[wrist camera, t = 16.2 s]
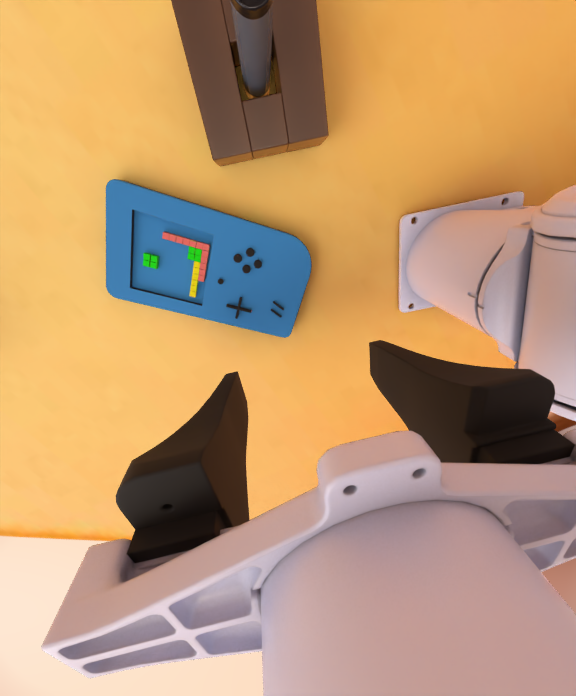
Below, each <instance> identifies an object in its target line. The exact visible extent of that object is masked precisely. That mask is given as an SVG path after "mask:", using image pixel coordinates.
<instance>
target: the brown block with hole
mask: <svg viewBox="0 0 576 696" xmlns="http://www.w3.org/2000/svg"><path fill="white" fill-rule="evenodd" d="M171 1H172V5H173V9H174V13H175V17H176V20H177V24H178V28H179V32H180V36H181V40H182V43H183V47H184V51H185V55H186V59H187V62H188V66H189V70H190V74H191V78H192V82H193V85H194V89H195V93H196V97H197V101H198V104H199V108H200V112H201V116H202V120H203V123H204V127H205V131H206V135H207V139H208V143H209V146H210V150H211V154H212V158H213V160H214V161H215V162H216V163H217V164H218V165H219V166H224V165H228V164H233V163H238V162H242V161H247V160H252V159H253V158H254V159H256V158H261V157H265V156H270V155H275V154H280V153H284V152H289V151H294V150H299V149H303V148H308V147H313V146H318V145H320V144H321V143H322V142H323V141H324V140H325V139H326V137H327V136H328V126H327V115H326V104H325V92H324V81H323V70H322V59H321V48H320V37H319V26H318V15H317V4H316V0H274V6H273V28H272V50H271V56H272V62H273V69H274V76H275V82H276V89H277V93H276V94H271V95H267V96H262V97H257V98H253V99H248V100H244V101H242V100H241V95H240V90H239V86H238V81H237V76H236V71H235V66H237V65H240V59H239V53H238V47H237V41H236V35H235V28H234V22H233V16H232V10H231V4H230V0H171ZM234 65H235V66H234Z"/></svg>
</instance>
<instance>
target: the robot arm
mask: <svg viewBox="0 0 576 696" xmlns="http://www.w3.org/2000/svg"><path fill="white" fill-rule="evenodd" d="M503 199H504V203H503V204H502V200H503ZM523 201H524V193H523V192H522V191H518V192H512V193H507V194H502V195H497V196H493V197H488V198H483V199H478V200H473V201H469V202H464V203H459V204H454V205H449V206H445V207H440V208H435V209H430V210H425V211H421V212H416V213H411V214H406V215H404V216H403V217H402V218H401V219H400V224H399V310H400V311H401V312H403V313H404V312H410V311H415V310H420V309H425V308H430V307H435V306H437V307H439V308H440V309H442V310H444V311H446V312H448V313H449V314H451V315H453V316H455V317H457V318H458V319H460V320H462V321H464V322H466V323H467V324H469V325H471V326H473V327H475V328H476V329H478V330H480V331H482V332H483V333H485V334H487V335H489V336H491V337H492V338H494V339H495V340H496V342H497V343H498V348H499V352H500V353H502V354H504V355H505V356H507V357H509V358H510V359H512V360H513V361H517V360H518V361H517V363H516V364H515V366H514V369H508V368H491V367H480V366H472V365H465V364H459V363H453V362H448V361H444V360H440V359H436V358H432V357H429V356H425V355H422V354H419V353H416V352H413V351H410V350H407V349H404V348H402V347H399V346H396V345H394V344H391V343H388V342H385V341H382V340H379V341H374V342H370V343H369V346H370V374H371V376H372V378H373V380H374V382H375V384H376V385H377V387H378V389H379V390H380V391H381V393H382V394H383V395H384V397H385V398H386V399H387V401H388V402H389V403H390V404H391V406H392V407H393V408H394V410H395V411H396V412H397V413H398V415H399V416H400V417H401V419H402V420H403V421H404V423H405V424H406V426H407V427H408V429H409V431H396V432H392V433H388V434H383V435H379V436H375V437H371V438H366V439H362V440H358V441H354V442H349V443H345V444H341V445H338V446H336V447H333V448H331V449H329V450H327V451H326V452H325V454H324V455H323V456H322V457H321V458H320V459H319V460H318V465H317V475H318V486H317V487H315V488H313V489H311V490H309V491H307V492H305V493H303V494H301V495H299V496H297V497H295V498H293V499H291V500H289V501H287V502H285V503H283V504H281V505H279V506H277V507H275V508H273V509H271V510H269V511H267V512H265V513H263V514H261V515H259V516H257V517H255V518H253V519H251V520H249V508H248V494H247V477H246V446H247V431H248V408H247V400H246V397H245V394H244V391H243V387H242V384H241V381H240V378H239V374H238V372H233V373H229V374H226V375H225V376H224V378H223V379H222V381H221V382H220V384H219V385H218V387H217V388H216V390H215V391H214V392H213V394H212V395H211V396H210V398H209V399H208V400H207V401H206V403H205V404H204V405H203V406H202V407H201V409H200V410H199V411H198V412H197V413H196V414H195V415H194V416H193V417H192V418H191V419H190V420H189V421H188V422H187V423H186V424H184V425H183V426H182V427H181V428H180V429H178V430H177V431H176V432H175V433H174V434H172V435H171V436H170V437H168V438H167V439H166V440H164V441H163V442H161V443H160V444H159V445H157V446H156V447H154V448H152V449H151V450H149V451H147V452H146V453H144V454H142V455H141V456H139V457H137V458H136V459H134V460H132V462H131V464H130V466H129V468H128V470H127V472H126V474H125V476H124V478H123V480H122V482H121V485H120V487H119V489H118V491H117V494H116V503H117V505H118V507H119V509H120V510H121V511H122V513H123V514H124V515H125V517H126V518H127V519H128V520H129V522H130V523H131V524H132V526H133V527H134V528H135V532H134V535H133V538H132V541H131V540H128V539H118V540H114V541H110V542H106V543H101V544H97V545H93V546H91V547H89V549H88V551H87V553H86V555H85V557H84V559H83V561H82V563H81V565H80V567H79V569H78V571H77V573H76V576H75V578H74V580H73V582H72V584H71V586H70V588H69V590H68V592H67V595H66V597H65V599H64V601H63V603H62V605H61V607H60V609H59V611H58V613H57V615H56V617H55V619H54V622H53V624H52V626H51V628H50V630H49V632H48V634H47V636H46V638H45V640H44V642H43V645H42V646H41V647H42V650H43V651H44V652H46V653H48V654H49V655H51V656H53V657H54V658H56V659H58V660H59V661H61V662H63V663H64V664H66V665H68V666H69V667H71V668H73V669H74V670H76V671H78V672H79V673H81V674H83V675H85V676H86V677H88V678H94V677H98V676H102V675H107V674H111V673H115V672H119V671H124V670H129V669H134V668H139V667H145V666H150V665H157V664H164V663H171V662H178V661H186V660H194V659H202V658H210V657H218V656H227V655H235V654H243V653H250V652H259V651H262V661H263V690H264V696H576V614H575V613H574V612H573V610H572V609H571V608H570V607H569V605H568V604H567V603H566V602H565V600H564V599H563V598H562V597H561V596H560V594H559V593H558V592H557V591H556V589H555V588H554V587H553V586H552V585H551V584H550V582H549V581H548V580H547V579H546V577H545V576H544V575H543V574H542V573H541V572H542V571H545V570H547V569H549V568H552V567H554V566H557V565H559V564H562V563H564V562H566V561H569V560H571V559H574V558H576V429H574V430H571V431H568V432H567V433H565V434H564V435H563V436H562V435H561V434H559V433H558V432H557V431H555V430H554V429H555V428H556V424H555V423H553V422H552V421H550V420H549V419H548V418H547V417H548V414H549V412H550V411H551V412H553V413H555V414H558V415H560V416H563V417H565V418H568V419H571V420H574V421H576V185H573V186H571V187H568V188H566V189H564V190H561V191H559V192H558V193H556V194H555V195H553V196H552V197H551V198H550V199H549V200H548V201H547V202H545V203H544V204H542V205H541V206H523ZM413 217H415V222H414V223H413V224H412V223H411V219H412V218H413ZM411 303H412V306H411V307H410V308H409V305H410V304H411Z"/></svg>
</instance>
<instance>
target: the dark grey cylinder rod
mask: <svg viewBox="0 0 576 696" xmlns="http://www.w3.org/2000/svg"><path fill="white" fill-rule="evenodd" d="M230 4H231V10H232V16H233V22H234V28H235V35H236V41H237V47H238V53H239V59H240V65H241V71H242V79H243V85H244V91H245V93H246V95H247V97H248V98H249V99H253V98H257V97H262V96H267V95H269V92H270V72H271V50H272V28H273V6H274V0H230Z"/></svg>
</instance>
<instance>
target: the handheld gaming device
mask: <svg viewBox="0 0 576 696" xmlns="http://www.w3.org/2000/svg"><path fill="white" fill-rule="evenodd" d="M310 273H311V257H310V254H309V252H308V250H307V248H306V246H305V245H304V244H303V243H302V242H301V241H300V240H299V239H298V238H297V237H295V236H293V235H291V234H289V233H286V232H282V231H279V230H276V229H273V228H270V227H267V226H264V225H260V224H257V223H254V222H251V221H248V220H245V219H242V218H238V217H235V216H232V215H229V214H226V213H223V212H220V211H216V210H213V209H210V208H207V207H204V206H201V205H198V204H194V203H191V202H188V201H185V200H182V199H179V198H176V197H172V196H169V195H166V194H163V193H160V192H157V191H154V190H150V189H147V188H144V187H141V186H138V185H135V184H132V183H128V182H125V181H121V180H116V179H113V180H110V181H109V182H108V183H107V186H106V287H107V290H108V292H109V293H110V294H111V295H112V296H113V297H115V298H118V299H123V300H127V301H131V302H135V303H139V304H144V305H148V306H152V307H156V308H161V309H165V310H169V311H173V312H178V313H182V314H186V315H190V316H195V317H199V318H203V319H207V320H212V321H216V322H220V323H224V324H228V325H233V326H237V327H241V328H245V329H250V330H254V331H258V332H262V333H267V334H271V335H275V336H279V337H284V338H285V337H288V336H289V335H290V334H291V332H292V329H293V326H294V323H295V320H296V316H297V313H298V310H299V307H300V304H301V301H302V298H303V295H304V292H305V289H306V286H307V283H308V280H309V277H310Z"/></svg>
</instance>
